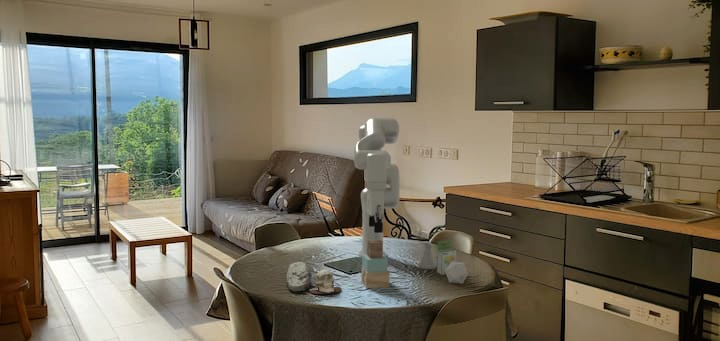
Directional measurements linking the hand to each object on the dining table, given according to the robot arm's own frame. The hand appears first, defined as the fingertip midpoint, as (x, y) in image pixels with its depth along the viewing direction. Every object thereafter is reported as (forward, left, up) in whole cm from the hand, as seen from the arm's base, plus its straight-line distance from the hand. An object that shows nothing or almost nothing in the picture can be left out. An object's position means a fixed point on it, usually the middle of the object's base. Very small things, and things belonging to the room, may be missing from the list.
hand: (375, 229), depth 226 cm
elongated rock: (-10, -29, -22) cm, 37 cm away
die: (+4, +32, -22) cm, 39 cm away
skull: (+6, -20, -22) cm, 30 cm away
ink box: (-8, +32, -22) cm, 39 cm away
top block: (+1, 0, -16) cm, 15 cm away
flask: (-18, +27, -22) cm, 39 cm away
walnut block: (0, 0, -11) cm, 10 cm away
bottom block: (+1, 0, -22) cm, 21 cm away
